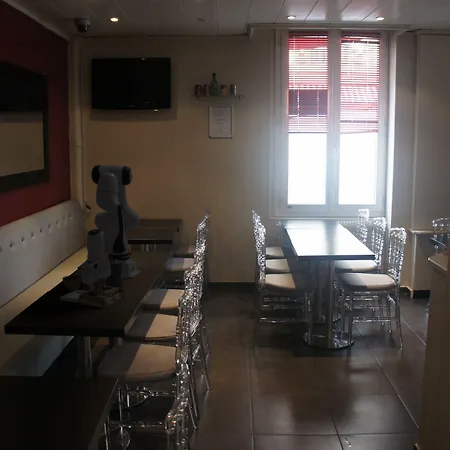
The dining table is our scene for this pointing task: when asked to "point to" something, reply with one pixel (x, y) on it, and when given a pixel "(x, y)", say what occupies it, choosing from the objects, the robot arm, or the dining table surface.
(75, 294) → the tray
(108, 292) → the offcut pine
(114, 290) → the offcut oak
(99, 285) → the sprinkles bottle
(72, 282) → the flower pot
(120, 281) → the coffeepot
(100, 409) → the dining table surface
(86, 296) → the rack
